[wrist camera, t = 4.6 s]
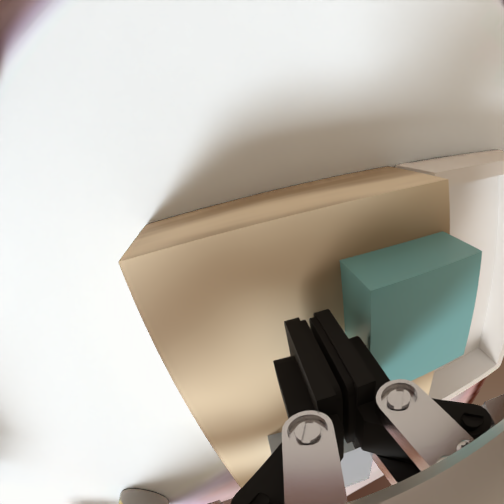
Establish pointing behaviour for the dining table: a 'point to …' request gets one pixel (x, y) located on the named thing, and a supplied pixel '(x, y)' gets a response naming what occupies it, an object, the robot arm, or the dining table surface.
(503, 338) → the box
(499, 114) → the dining table surface
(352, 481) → the slate tile
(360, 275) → the teal tile
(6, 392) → the dining table surface
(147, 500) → the lotion bottle
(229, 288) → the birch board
